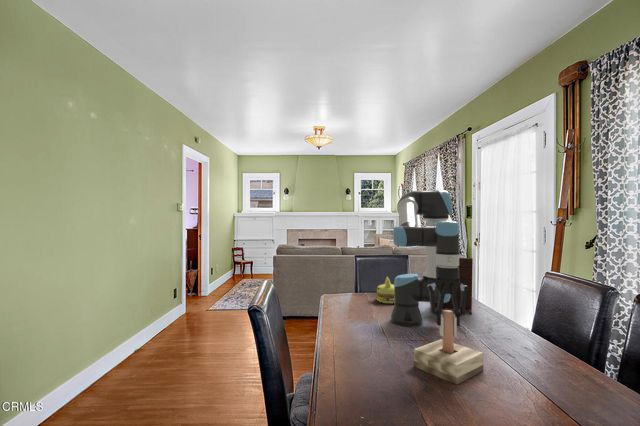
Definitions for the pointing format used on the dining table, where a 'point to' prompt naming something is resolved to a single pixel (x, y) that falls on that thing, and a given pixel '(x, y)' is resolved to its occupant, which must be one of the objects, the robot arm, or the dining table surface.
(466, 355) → the bore block
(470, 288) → the dark brown wooden cabinet
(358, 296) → the dining table surface
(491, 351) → the dining table surface
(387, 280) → the toy
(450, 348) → the pin
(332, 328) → the dining table surface
